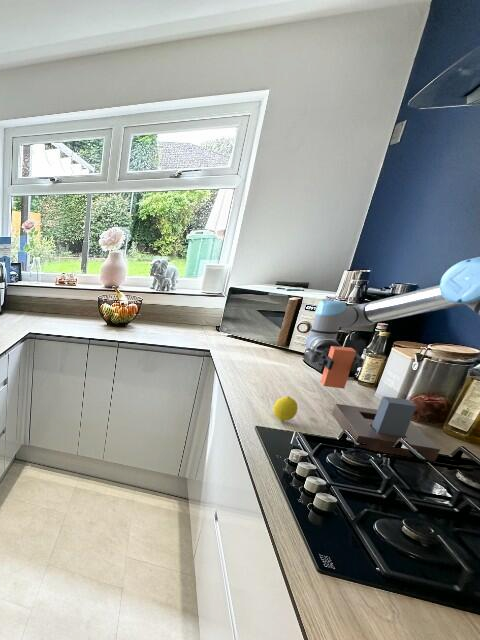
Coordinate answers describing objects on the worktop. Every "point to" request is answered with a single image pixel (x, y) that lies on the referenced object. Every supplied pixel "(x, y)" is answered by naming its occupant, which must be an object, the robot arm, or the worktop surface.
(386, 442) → the dock
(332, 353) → the pad
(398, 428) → the pad
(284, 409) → the lemon
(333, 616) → the worktop surface
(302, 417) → the worktop surface
